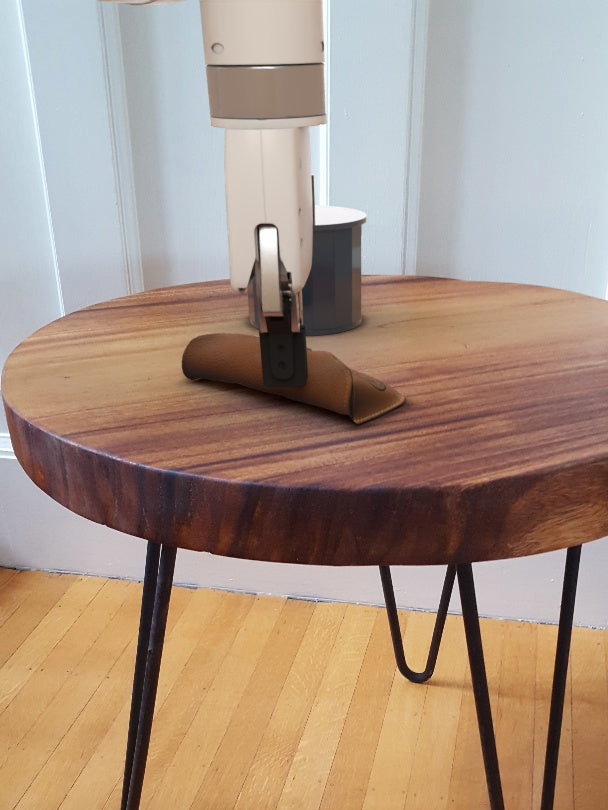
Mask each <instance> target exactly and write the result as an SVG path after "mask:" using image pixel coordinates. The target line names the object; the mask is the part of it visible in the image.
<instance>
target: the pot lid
mask: <svg viewBox="0 0 608 810" xmlns="http://www.w3.org/2000/svg"><path fill="white" fill-rule="evenodd" d="M311 178H312V210H313V231H327V230H338V229H346V228H352V227H356V226H359V225H362V226H363V225H364V224H365V223H367V221H368V216H367V213H366V212H364V211H362V210H359V209H356V208H351V207H343V206H336V205H335V206H334V205H320V204H316V187H315V185H316V182H315V179H316V177H315V174H314V173H311Z"/></svg>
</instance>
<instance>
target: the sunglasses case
mask: <svg viewBox="0 0 608 810" xmlns="http://www.w3.org/2000/svg"><path fill="white" fill-rule="evenodd" d="M306 348H307V367H308V378H307V381H306V384H305V386H303V387H266V386H265V385H264V384H263V376H262V363H261V351H260V338H259V336H257V335H252V334H243V333H228V332H227V333H226V332H221V333H220V332H219V333H216V332H215V333H208V334H201V335H197V336H196V337H193V339H191V340H190V341H189V342H188V344H187V345H186V347H185V348H184V351H183V353H182V356H181V370H182V374H183V375H184V377H185V378H187V379H188V380H190V381H194V380H195V381H196V380H200V379H201V380H208V381H209V380H210V381H213V382H223V383H225V384H239V385H242V386H243V387H247V388H250V389H253V390H256V391H260V392H263V393H266V394H272V395H276V396H277V395H278V396H282V397H283V398H285V399H289V400H292V401H296V402H300V403H304V404H308V405H312V406H316V407H318V408H322V409H325V410H329V411H332V412H335V413H337V414H340V415H346V416H348V417H349V418H350V420H351V421H352V422H354V424H356V425H362V424H363V423H366V422H370V421H373V420H375V419H376V420H377V419H379V418H380V417H383V416H385V415H386V414H389V413H390V412H392V411H393V410H395V409H397V408H398V407H400V406H402V405H404V403H406V401H407V397H405V395H404V394H402V393H400V392H399V391H398V390H397V389H395V388H394V387H392V386H391V385H389V384H388V383H385V382H384V381H382V380H380V379H378V378H375V377H373V376H370V375H368V374H365V372H364V373H363V372H361V371H358V370H356V369H353V368H351V367H349V366H347V365H346V364H345V363H344V362H343V361H341V360H340V359H339V358H338V357H336V356H335V355H334V354H333V353H332V352H330V351H327V350H312V348H310V347H307V346H306Z"/></svg>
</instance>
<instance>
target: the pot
mask: <svg viewBox="0 0 608 810" xmlns="http://www.w3.org/2000/svg"><path fill="white" fill-rule="evenodd" d="M362 284H363V224H362V225H359V226H356V227H352V228H346V229H338V230H327V231H313V240H312V265H311V270H310V273H309V276H308V278H307V281H306V283H305V285H304V287H303V288H302V307H303V324H302V325H300V326H305V328H306V337H307V336H325V335H332V334H339V333H343V332H344V333H345V332H346V331H350V330H353V329H355V328H357V327H359V326H360V325H361V324H362V314H363V285H362ZM246 289H247V305H248V306H247V307H248V319H249V322H250V325H251V326H252V327H254V328H256V329H258V330H260V321H259V311H258V301H257V291H256V281H255V276H254V277H253V279H252V281H251V282H250V284H249V286H248V287H247V288H246Z"/></svg>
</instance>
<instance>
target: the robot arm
mask: <svg viewBox="0 0 608 810" xmlns="http://www.w3.org/2000/svg"><path fill="white" fill-rule="evenodd" d="M99 1H100V2H105V3H106V2H107V3H118V4H125V5H130V6H140V7H158V6H164V5H170V4H176V3H180V2H186V0H98V2H99ZM198 2H199V12H200V21H201V22H200V24H201V32H202V43H203V45H202V46H203V56H204V64H205V65H206V66H205V74H206V84H207V95H208V96H207V97H208V106H209V108H208V109H209V115H210V117H209V118H210V120H209V121H210V126H211V127H213V128H220V129H224V159H223V160H224V164H223V165H224V189H225V191H224V193H225V210H226V226H227V227H226V229H227V245H228V246H227V247H228V264H229V265H228V266H229V281H230V282H229V283H230V287H231V289H232V290H233V292H234V293H235V294H237V295H242V294H244V292H245V291H246V289H247V287H248V286H249V284H250V282H251V281H252V279H253V277H254V276H255V281H256V291H257V301H258V311H259V321H260V329H259V331H258V334H259V335H258V337H259V338H260V351H261V363H262V376H263V384H264V385H265V386H266V387H303V386H305V384H306V381H307V378H308V367H307V348H308V347H307V336H306V328H305V326H300V325H302V324H303V307H302V288H303V287H304V285H305V283H306V281H307V278H308V276H309V273H310V270H311V265H312V240H313V210H312V178H311V174H312V157H311V155H312V154H311V138H310V137H311V136H310V127H317V126H320V125H322V126H323V125H327V123H328V116H327V111H328V110H327V83H326V64H325V63H326V61H325V60H326V58H325V57H326V56H325V34H324V33H325V32H324V9H323V8H324V7H323V2H324V1H323V0H198ZM306 347H307V348H306Z"/></svg>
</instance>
